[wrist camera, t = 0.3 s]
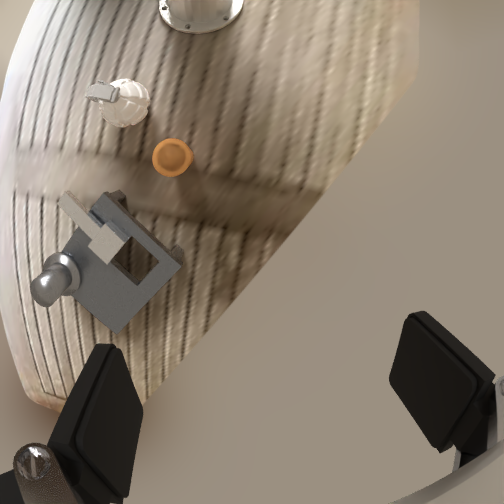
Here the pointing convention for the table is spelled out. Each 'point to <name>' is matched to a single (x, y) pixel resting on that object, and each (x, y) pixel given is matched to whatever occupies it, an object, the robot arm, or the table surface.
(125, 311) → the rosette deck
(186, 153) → the pin
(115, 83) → the hand grenade
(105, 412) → the robot arm
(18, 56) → the table surface
